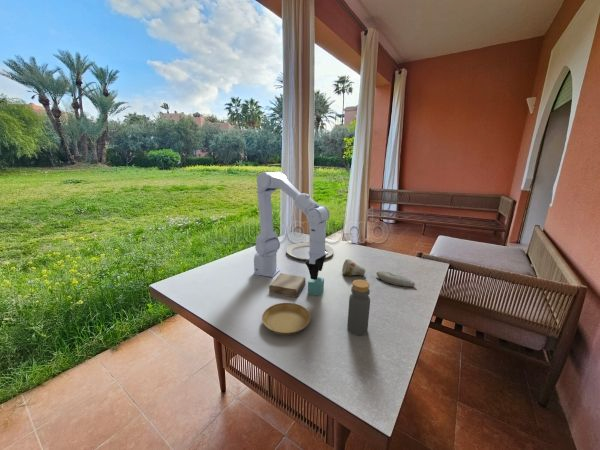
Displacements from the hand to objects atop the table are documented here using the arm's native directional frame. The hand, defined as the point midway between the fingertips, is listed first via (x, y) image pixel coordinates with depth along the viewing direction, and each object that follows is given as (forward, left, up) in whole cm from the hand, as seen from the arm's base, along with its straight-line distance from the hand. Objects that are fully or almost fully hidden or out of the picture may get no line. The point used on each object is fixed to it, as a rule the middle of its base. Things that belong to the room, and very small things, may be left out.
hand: (316, 274), depth 91 cm
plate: (-13, +38, -8) cm, 41 cm away
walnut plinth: (-11, -1, -7) cm, 13 cm away
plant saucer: (-4, -21, -8) cm, 23 cm away
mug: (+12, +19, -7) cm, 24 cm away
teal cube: (0, 0, -7) cm, 7 cm away
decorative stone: (+29, +18, -8) cm, 35 cm away
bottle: (+17, -17, -7) cm, 25 cm away
